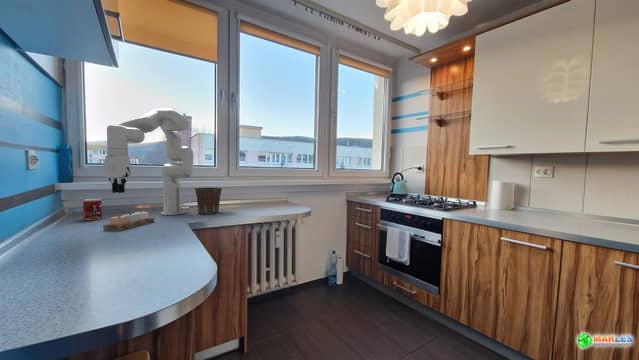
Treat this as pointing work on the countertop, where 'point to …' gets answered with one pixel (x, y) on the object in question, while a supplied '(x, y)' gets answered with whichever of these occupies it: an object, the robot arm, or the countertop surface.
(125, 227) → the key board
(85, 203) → the canned food
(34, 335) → the countertop surface
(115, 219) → the tile three pip
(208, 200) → the plant pot
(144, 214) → the tile one pip
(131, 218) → the tile two pip
